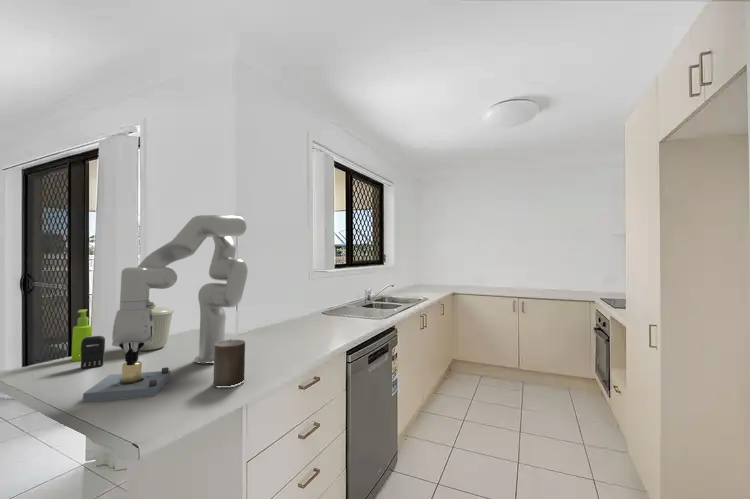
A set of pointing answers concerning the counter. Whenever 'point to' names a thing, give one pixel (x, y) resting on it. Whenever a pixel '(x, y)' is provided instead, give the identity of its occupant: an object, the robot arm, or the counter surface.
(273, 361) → the counter surface
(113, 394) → the plate
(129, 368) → the brass cylinder
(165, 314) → the canister
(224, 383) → the pillar candle
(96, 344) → the battery charger
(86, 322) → the soap dispenser
